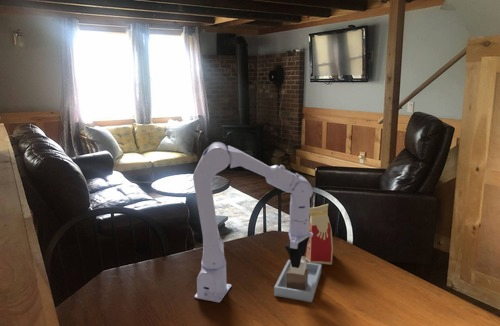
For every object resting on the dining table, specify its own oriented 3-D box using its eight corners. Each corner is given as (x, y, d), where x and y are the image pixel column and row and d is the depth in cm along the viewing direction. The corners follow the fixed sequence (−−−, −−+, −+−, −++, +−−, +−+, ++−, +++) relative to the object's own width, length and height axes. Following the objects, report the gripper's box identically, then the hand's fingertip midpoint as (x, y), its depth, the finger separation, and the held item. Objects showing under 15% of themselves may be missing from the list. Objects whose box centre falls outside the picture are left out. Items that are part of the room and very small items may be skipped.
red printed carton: (330, 252, 140) (332, 199, 135) (333, 264, 131) (335, 208, 126) (304, 251, 140) (306, 199, 136) (305, 263, 131) (307, 207, 127)
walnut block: (304, 291, 114) (305, 275, 113) (286, 288, 116) (286, 272, 115) (307, 283, 118) (308, 268, 117) (290, 280, 120) (290, 265, 119)
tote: (311, 302, 109) (312, 293, 108) (274, 295, 112) (274, 287, 112) (321, 272, 125) (321, 264, 125) (288, 267, 129) (288, 259, 128)
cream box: (303, 275, 113) (303, 262, 112) (290, 272, 115) (290, 260, 114) (306, 268, 117) (306, 256, 116) (293, 266, 118) (293, 254, 117)
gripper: (308, 228, 104) (307, 274, 107) (317, 211, 118) (315, 252, 121) (283, 225, 106) (282, 270, 109) (294, 208, 120) (293, 249, 123)
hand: (298, 261), depth 115 cm, fingers open, 7 cm apart
